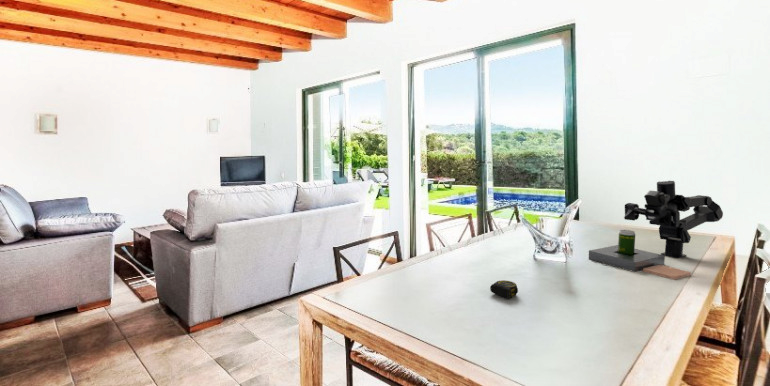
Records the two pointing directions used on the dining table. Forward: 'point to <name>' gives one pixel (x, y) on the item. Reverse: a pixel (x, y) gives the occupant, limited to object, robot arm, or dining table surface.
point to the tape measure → (504, 288)
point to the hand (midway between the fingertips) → (636, 220)
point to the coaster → (667, 271)
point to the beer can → (626, 242)
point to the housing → (626, 258)
